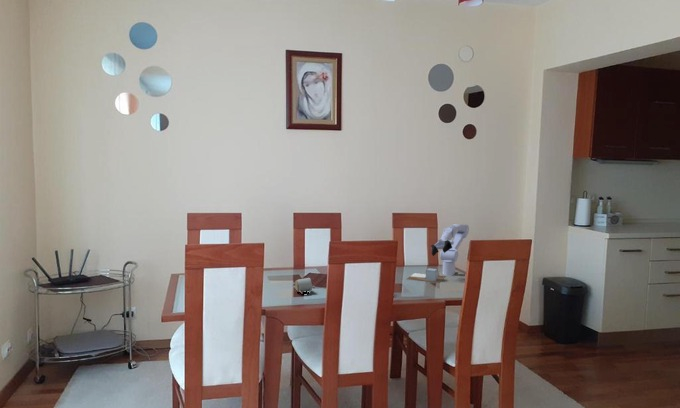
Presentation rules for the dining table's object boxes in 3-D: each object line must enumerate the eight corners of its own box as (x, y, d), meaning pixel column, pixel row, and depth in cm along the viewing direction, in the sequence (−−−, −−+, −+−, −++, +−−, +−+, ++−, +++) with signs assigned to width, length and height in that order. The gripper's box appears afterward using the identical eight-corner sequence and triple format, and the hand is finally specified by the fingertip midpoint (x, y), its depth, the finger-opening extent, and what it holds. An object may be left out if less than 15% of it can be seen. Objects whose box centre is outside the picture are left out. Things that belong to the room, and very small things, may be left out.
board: (414, 274, 296) (414, 273, 296) (446, 277, 287) (446, 276, 287) (405, 281, 279) (405, 279, 279) (439, 284, 271) (439, 282, 271)
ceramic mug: (294, 291, 256) (294, 277, 256) (308, 290, 259) (308, 276, 258) (299, 296, 247) (299, 282, 246) (314, 295, 249) (314, 281, 248)
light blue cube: (428, 278, 283) (428, 268, 282) (437, 279, 280) (437, 269, 280) (425, 280, 278) (425, 270, 277) (435, 281, 275) (435, 271, 275)
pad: (414, 273, 294) (414, 273, 294) (428, 275, 290) (428, 274, 290) (410, 276, 286) (410, 276, 286) (424, 278, 282) (424, 277, 282)
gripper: (431, 238, 288) (424, 250, 278) (452, 231, 279) (445, 244, 269) (437, 247, 290) (430, 260, 279) (457, 241, 281) (451, 254, 270)
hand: (438, 252), depth 274 cm, fingers open, 7 cm apart
